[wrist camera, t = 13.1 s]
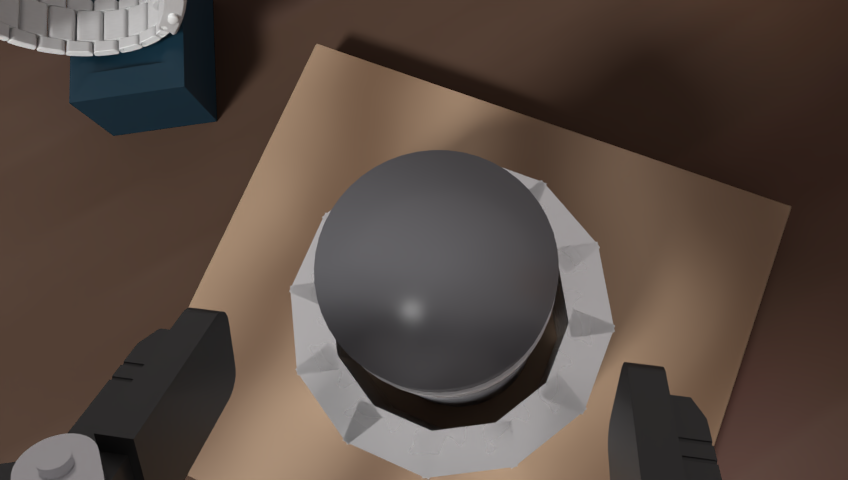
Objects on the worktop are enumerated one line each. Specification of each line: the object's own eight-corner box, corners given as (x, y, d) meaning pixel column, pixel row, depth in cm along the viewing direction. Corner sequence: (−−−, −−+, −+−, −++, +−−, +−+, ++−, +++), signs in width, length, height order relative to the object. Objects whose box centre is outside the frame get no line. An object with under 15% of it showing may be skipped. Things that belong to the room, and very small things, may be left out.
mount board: (143, 442, 26) (122, 443, 24) (325, 62, 29) (316, 43, 27) (626, 673, 23) (634, 690, 21) (774, 218, 26) (791, 206, 24)
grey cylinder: (359, 374, 24) (271, 336, 15) (416, 237, 25) (368, 117, 16) (502, 432, 23) (509, 433, 14) (555, 287, 24) (595, 193, 15)
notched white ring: (280, 399, 24) (239, 395, 20) (386, 162, 26) (367, 117, 22) (534, 512, 23) (541, 532, 19) (629, 252, 24) (655, 220, 20)
